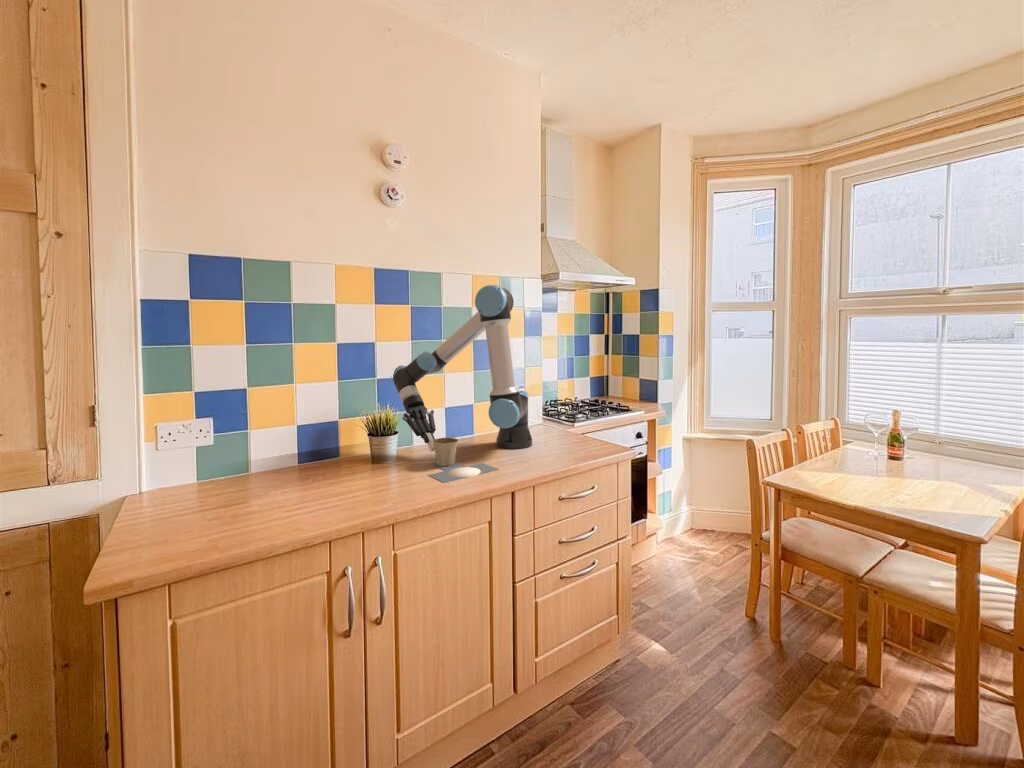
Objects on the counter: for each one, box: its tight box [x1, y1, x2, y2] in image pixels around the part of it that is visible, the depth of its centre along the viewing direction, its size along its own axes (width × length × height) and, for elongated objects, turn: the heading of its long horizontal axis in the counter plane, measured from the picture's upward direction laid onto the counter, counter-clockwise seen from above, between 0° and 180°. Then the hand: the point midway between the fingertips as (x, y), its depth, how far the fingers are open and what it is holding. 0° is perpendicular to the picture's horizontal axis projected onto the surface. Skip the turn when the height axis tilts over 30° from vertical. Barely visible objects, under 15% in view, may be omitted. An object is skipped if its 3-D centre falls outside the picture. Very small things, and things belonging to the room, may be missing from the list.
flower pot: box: [432, 437, 460, 466], centre depth 165 cm, size 9×9×9 cm
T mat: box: [427, 461, 500, 484], centre depth 161 cm, size 22×22×1 cm
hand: (433, 449), depth 172 cm, fingers closed
